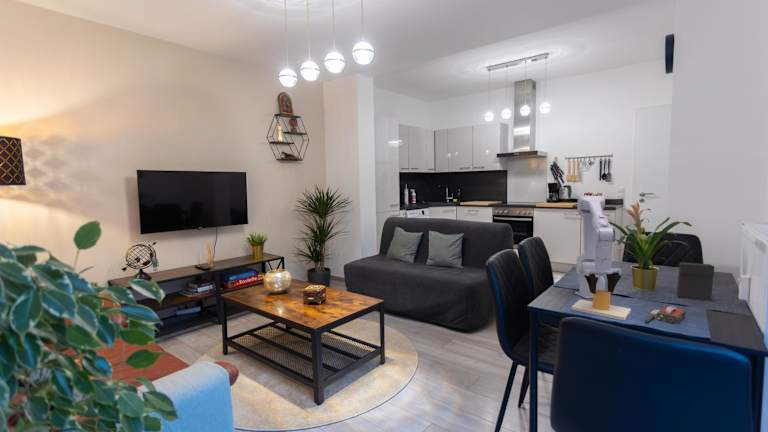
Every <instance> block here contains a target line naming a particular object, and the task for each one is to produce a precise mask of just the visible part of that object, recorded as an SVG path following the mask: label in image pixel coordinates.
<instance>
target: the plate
mask: <svg viewBox="0 0 768 432" xmlns="http://www.w3.org/2000/svg"><path fill="white" fill-rule="evenodd" d="M592 304H593V300H592V301H591V300H587V299H579V300H578V301H577V302H575V303H574V304H573V305H572V306H571V307H570V308H571V310H572V311H576V312H581V313H586V314H591V315H595V316H596V315H597V316H600V317H605V318H611V319H614V320H618V321H623V322H624V321H626V319H627V318H628V317H629V315H630V313H631V312H632V308H629V307H628V308H627V307H622V306H617V305H613V304H610V309H609V310H598V309H595V308H593V307H592Z"/></svg>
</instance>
